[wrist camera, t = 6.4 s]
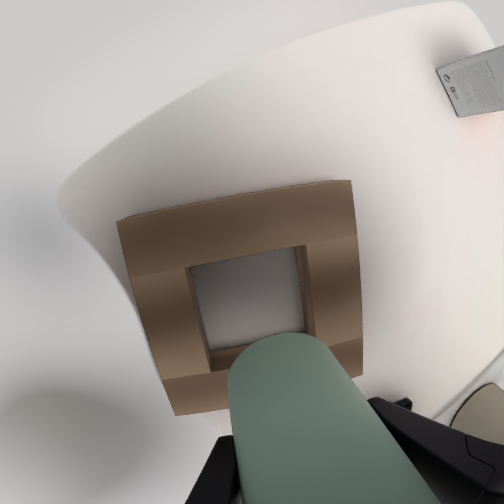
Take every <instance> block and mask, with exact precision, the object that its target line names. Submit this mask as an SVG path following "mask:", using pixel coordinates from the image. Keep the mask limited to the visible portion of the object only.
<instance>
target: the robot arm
mask: <svg viewBox="0 0 504 504" xmlns="http://www.w3.org/2000/svg"><path fill="white" fill-rule="evenodd" d="M367 401H368V403H369V404H370V406H371V407H372V408H373V410H374V411H375V413H376V414H377V415H378V417H379V418H380V419H381V421H382V422H383V424H384V425H385V426H386V428H387V429H388V431H389V432H390V433H391V435H392V436H393V437H394V439H395V440H396V442H397V443H398V444H399V446H400V447H401V449H402V450H403V451H404V453H405V454H406V456H407V457H408V458H409V460H410V461H411V462H412V464H413V465H414V467H415V468H416V469H417V471H418V472H419V474H420V475H421V476H422V478H423V479H424V481H425V482H426V483H427V485H428V486H429V488H430V489H431V490H432V492H433V493H434V495H435V496H436V497H437V499H438V500H439V502H440V503H441V504H504V445H503V444H498V443H494V442H491V441H487V440H484V439H481V438H478V437H475V436H472V435H470V434H465V433H464V432H461V431H459V430H456V429H453V428H451V427H448V426H446V425H443V424H441V423H438V422H436V421H433V420H431V419H428V418H426V417H423V416H421V415H419V414H416V413H414V412H412V411H411V409H412V401H411V400H410V399H405V400H403V401H401V402H398V403H396V404H393V403H391V402H389V401H386V400H384V399H382V398H380V397H374V398H371V399H368V400H367ZM185 504H242V498H241V491H240V485H239V478H238V469H237V462H236V455H235V447H234V439H233V436H232V435H228V436H222V437H219V438H218V439H217V441H216V444H215V445H214V448H213V449H212V451H211V453H210V456H209V458H208V459H207V461H206V463H205V465H204V467H203V470H202V471H201V473H200V475H199V477H198V479H197V481H196V483H195V485H194V487H193V489H192V491H191V493H190V495H189V497H188V499H187V500H186V502H185Z"/></svg>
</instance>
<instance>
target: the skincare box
mask: <svg viewBox="0 0 504 504" xmlns="http://www.w3.org/2000/svg"><path fill="white" fill-rule="evenodd" d="M437 72H438V74H439V76H440V78H441V80H442V82H443V84H444V86H445V88H446V90H447V92H448V94H449V96H450V99H451V101H452V103H453V105H454V108H455V110H456V112H457V115H458V116H459V117H465V116H471V115H477V114H483V113H489V112H496V111H503V110H504V45H503V46H500V47H497V48H494V49H491V50H488V51H485V52H481V53H478V54H475V55H472V56H470V57H467V58H464V59H461V60H459V61H456V62H453V63H451V64H448V65H446V66H443V67H441V68H438V69H437Z"/></svg>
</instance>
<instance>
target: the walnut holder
mask: <svg viewBox="0 0 504 504" xmlns="http://www.w3.org/2000/svg"><path fill="white" fill-rule="evenodd" d="M116 223H117V228H118V232H119V237H120V241H121V246H122V250H123V254H124V258H125V262H126V266H127V270H128V274H129V278H130V282H131V285H132V289H133V293H134V296H135V300H136V303H137V307H138V310H139V314H140V317H141V320H142V324H143V327H144V330H145V333H146V336H147V339H148V342H149V345H150V348H151V351H152V354H153V357H154V360H155V363H156V366H157V369H158V372H159V374H160V377H161V380H162V383H163V385H164V388H165V391H166V393H167V396H168V398H169V401H170V403H171V406H172V408H173V411H174V413H175V416H180V415H188V414H195V413H202V412H209V411H215V410H221V409H227V408H229V400H228V391H227V379H228V374H229V371H230V368H231V366H232V364H233V363H234V361H235V360H236V358H237V357H238V356H239V355H240V354H241V353H242V352H243V351H244V350H245V349H246V348H247V347H249V346H250V345H252V344H253V343H252V344H247V345H242V346H237V347H232V348H227V349H221V350H216V351H210V350H209V346H208V342H207V338H206V334H205V330H204V326H203V322H202V318H201V314H200V310H199V306H198V302H197V297H196V293H195V289H194V284H193V280H192V275H191V271H190V267H191V266H196V265H202V264H207V263H212V262H217V261H222V260H228V259H233V258H238V257H243V256H249V255H254V254H259V253H264V252H269V251H275V250H280V249H285V248H290V247H295V249H296V256H297V264H298V271H299V279H300V287H301V295H302V304H303V312H304V321H305V330H306V332H301V333H303V334H307V335H310V336H313V337H315V338H317V339H319V340H320V341H322V342H323V343H324V344H325V345H326V346H327V347H328V348H329V349H330V351H331V352H332V353H333V355H334V356H335V357H336V359H337V360H338V362H339V363H340V364H341V366H342V367H343V368H344V370H345V371H346V373H347V374H348V375H349V377H350V378H354V377H357V376H360V375H363V329H362V299H361V280H360V264H359V251H358V240H357V229H356V219H355V210H354V202H353V193H352V186H351V180H332V181H324V182H317V183H310V184H303V185H296V186H290V187H283V188H277V189H271V190H264V191H258V192H252V193H246V194H241V195H235V196H229V197H224V198H218V199H213V200H208V201H202V202H197V203H192V204H187V205H182V206H177V207H172V208H167V209H162V210H158V211H153V212H148V213H144V214H139V215H135V216H130V217H127V218H124V219H122V220H120V221H117V222H116Z"/></svg>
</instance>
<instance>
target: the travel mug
mask: <svg viewBox="0 0 504 504" xmlns="http://www.w3.org/2000/svg"><path fill="white" fill-rule="evenodd" d="M451 428H453V429H456V430H459V431H461V432H464V433H465V434H470V435H472V436H475V437H478V438H481V439H484V440H487V441H491V442H494V443H498V444H503V445H504V391H503V390H502V389H501V388H500V387H498V386H497V385H496V384H489V385H487V386H485V387H483V388H482V389H480V390H479V391H477V392H476V393H475V394H474V395H473V396H471V398H470V399H469V400H468V401H467V402H466V403H465V404H464V405H463V407H462V408H461V409H460V411H459V412H458V414H457V416H456V417H455V419H454V421H453V424H452V426H451Z"/></svg>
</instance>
